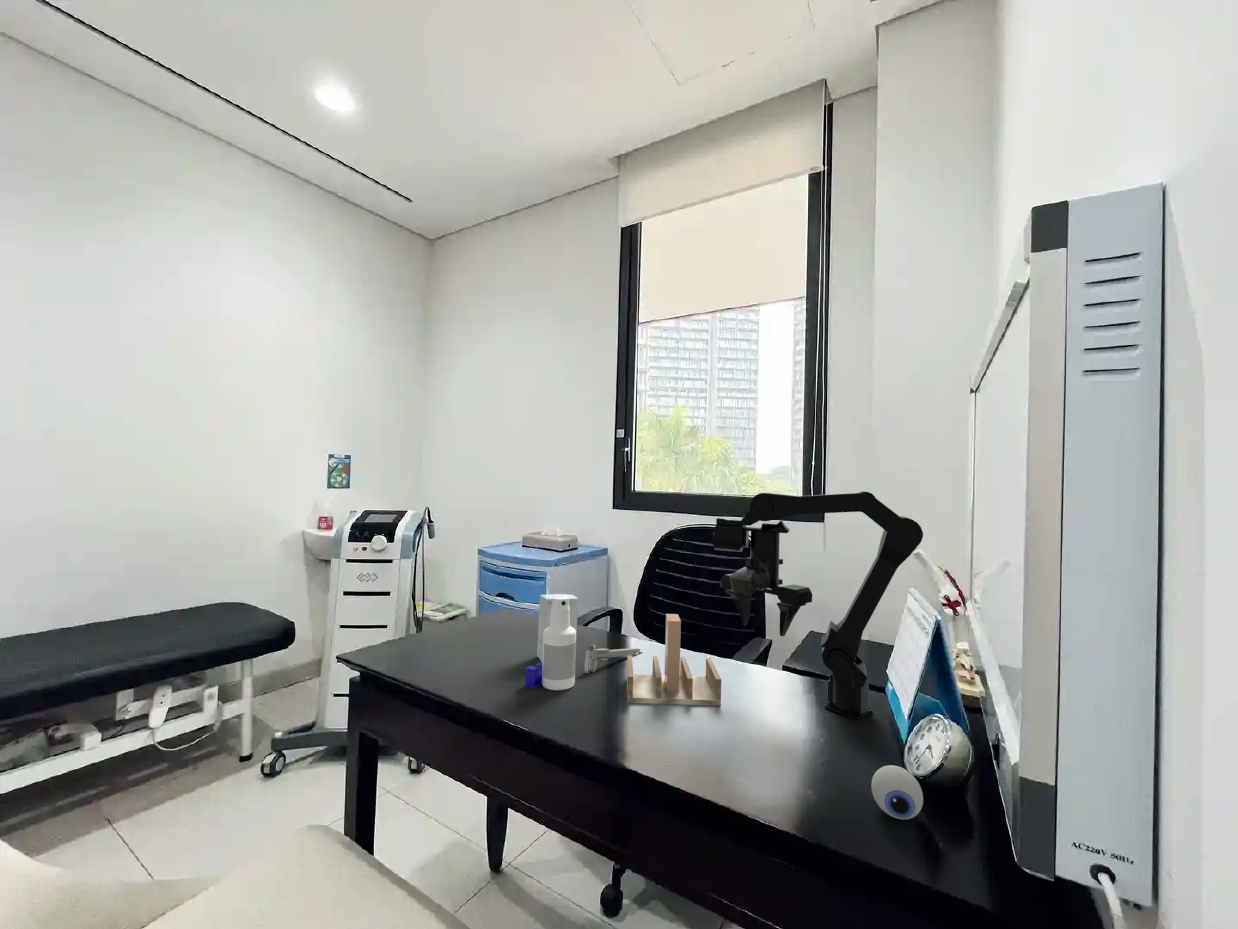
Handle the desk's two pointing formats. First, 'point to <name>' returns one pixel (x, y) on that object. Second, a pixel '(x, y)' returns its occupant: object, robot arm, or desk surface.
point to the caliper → (604, 656)
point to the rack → (690, 687)
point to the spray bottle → (559, 648)
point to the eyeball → (897, 792)
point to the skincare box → (545, 616)
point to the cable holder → (533, 675)
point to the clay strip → (672, 652)
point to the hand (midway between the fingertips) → (763, 630)
